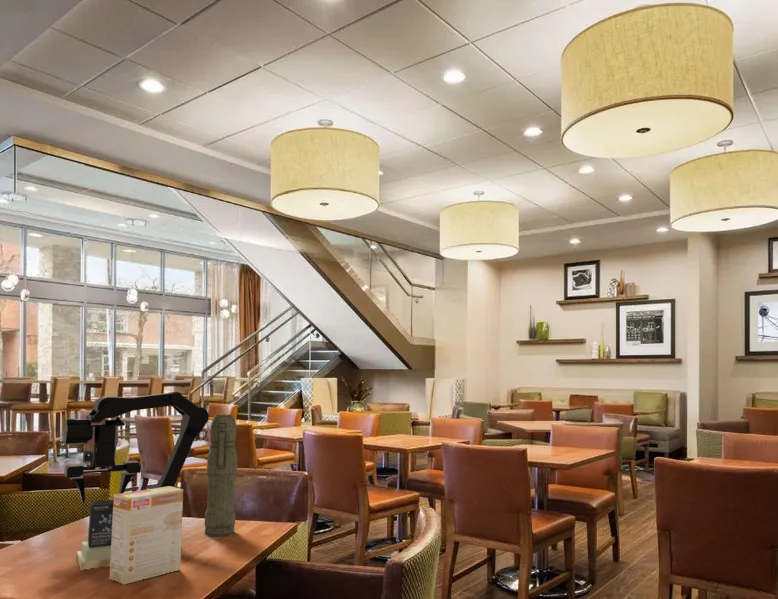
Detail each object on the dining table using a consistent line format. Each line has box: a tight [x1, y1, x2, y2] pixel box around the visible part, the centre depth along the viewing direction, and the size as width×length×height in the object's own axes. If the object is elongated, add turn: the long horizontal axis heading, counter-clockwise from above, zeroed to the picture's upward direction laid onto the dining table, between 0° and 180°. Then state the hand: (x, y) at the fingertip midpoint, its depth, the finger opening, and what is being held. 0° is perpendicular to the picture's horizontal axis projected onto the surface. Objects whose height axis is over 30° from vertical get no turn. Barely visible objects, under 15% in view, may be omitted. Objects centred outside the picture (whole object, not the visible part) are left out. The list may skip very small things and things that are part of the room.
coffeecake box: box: [109, 486, 184, 586], centre depth 160 cm, size 15×7×20 cm, turn 141°
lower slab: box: [75, 550, 111, 571], centre depth 170 cm, size 12×12×2 cm
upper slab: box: [80, 540, 111, 562], centre depth 170 cm, size 10×10×2 cm
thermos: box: [204, 414, 238, 537], centre depth 201 cm, size 9×12×35 cm
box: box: [87, 499, 114, 548], centre depth 171 cm, size 8×6×11 cm
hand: (101, 501), depth 180 cm, fingers open, 9 cm apart
